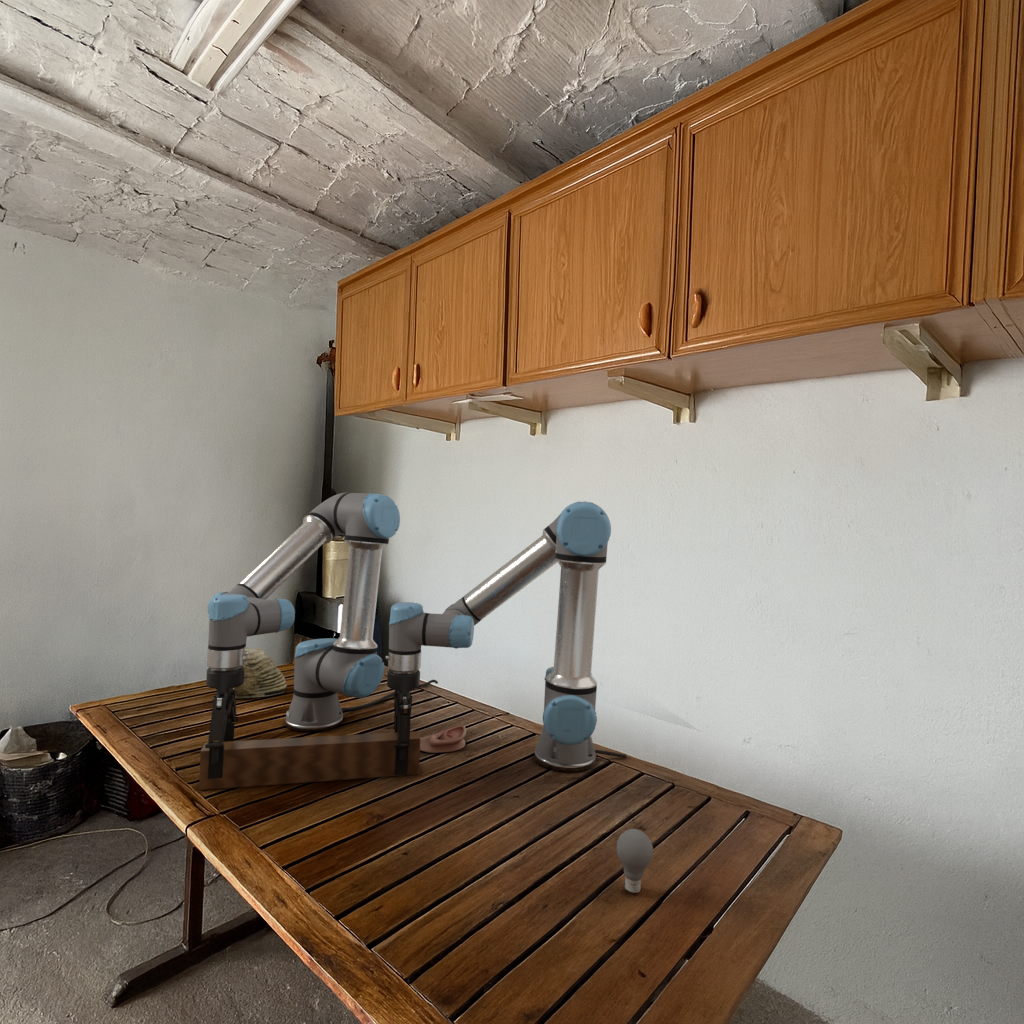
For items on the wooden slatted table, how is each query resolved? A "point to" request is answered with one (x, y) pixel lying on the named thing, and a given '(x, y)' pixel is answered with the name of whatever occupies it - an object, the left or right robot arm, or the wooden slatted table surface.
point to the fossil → (260, 676)
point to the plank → (308, 760)
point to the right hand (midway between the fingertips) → (399, 768)
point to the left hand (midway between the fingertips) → (221, 764)
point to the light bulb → (634, 857)
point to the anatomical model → (444, 740)
